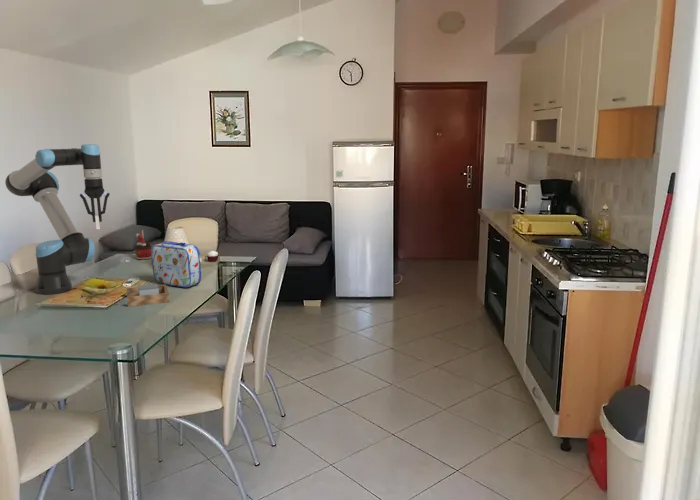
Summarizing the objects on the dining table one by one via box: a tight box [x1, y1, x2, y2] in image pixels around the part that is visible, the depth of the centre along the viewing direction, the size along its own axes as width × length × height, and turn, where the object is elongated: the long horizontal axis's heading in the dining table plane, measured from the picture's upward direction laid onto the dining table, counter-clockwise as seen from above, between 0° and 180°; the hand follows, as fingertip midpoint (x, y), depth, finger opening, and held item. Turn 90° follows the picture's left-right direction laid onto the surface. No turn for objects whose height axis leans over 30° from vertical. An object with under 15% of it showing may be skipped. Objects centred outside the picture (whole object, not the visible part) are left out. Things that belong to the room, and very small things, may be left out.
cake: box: [134, 228, 152, 260], centre depth 335 cm, size 11×9×18 cm
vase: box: [163, 226, 191, 244], centre depth 307 cm, size 18×17×23 cm
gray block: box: [137, 283, 159, 296], centre depth 252 cm, size 8×6×6 cm
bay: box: [125, 284, 170, 307], centre depth 252 cm, size 17×16×4 cm
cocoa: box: [204, 239, 221, 263], centre depth 327 cm, size 10×6×12 cm, turn 93°
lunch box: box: [150, 241, 203, 288], centre depth 275 cm, size 28×10×22 cm, turn 62°
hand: (98, 228), depth 263 cm, fingers closed
